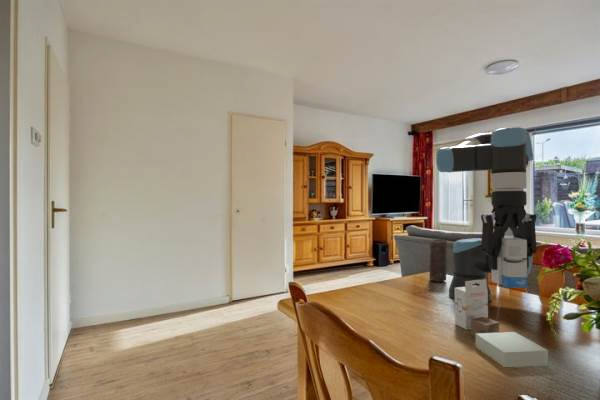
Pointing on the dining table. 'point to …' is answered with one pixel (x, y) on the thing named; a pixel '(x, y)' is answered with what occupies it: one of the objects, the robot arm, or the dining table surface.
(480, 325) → the walnut cube
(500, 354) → the pedestal block
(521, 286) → the ink box
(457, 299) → the ink cartridge box
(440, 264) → the dark brown tall block
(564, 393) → the dining table surface
